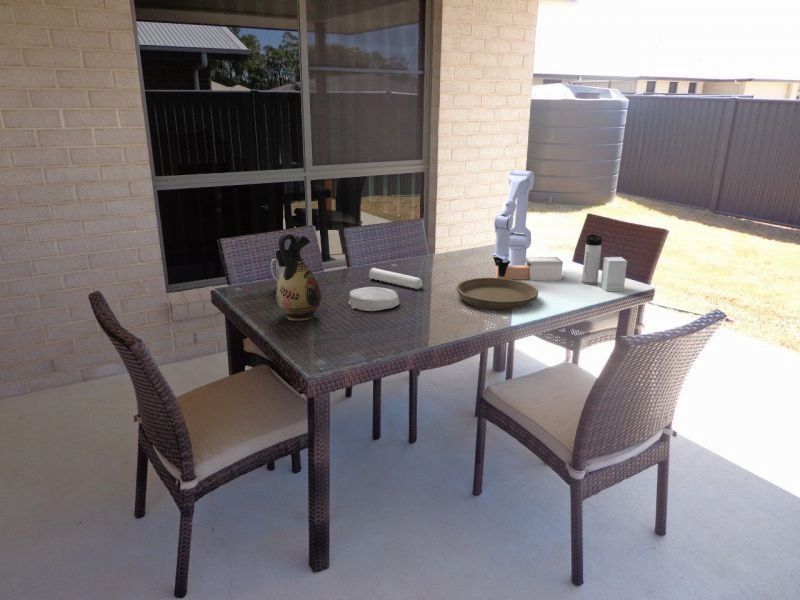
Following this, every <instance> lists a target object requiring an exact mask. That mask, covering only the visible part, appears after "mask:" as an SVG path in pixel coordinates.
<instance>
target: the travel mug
mask: <svg viewBox="0 0 800 600" xmlns="http://www.w3.org/2000/svg"><path fill="white" fill-rule="evenodd" d="M585 239H586V240H585V241H586V242H585V246H584V247H585V248H584V258H583V269H582V277H581V283H582V284H584V285H587V284H588V286H594V285H598V281H599V270H600V263H601V252H602V243H603V237H601V236H600V235H596V234H590V235H586V237H585Z"/></svg>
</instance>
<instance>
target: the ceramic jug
mask: <svg viewBox="0 0 800 600" xmlns="http://www.w3.org/2000/svg"><path fill="white" fill-rule="evenodd" d="M288 240H290V243H289V246H288V247H287V248H286V247H285V245H286V244H285V243H286V241H288ZM309 244H311V241H310V239H309V238H308V237H307V236H305V235H301V236H299V235H296V236H295V235H294V234H293V233H288V232H286V233H283V234H281V235H280V237H279V239H278V249H279V250H280V252H281V255H282V257H283V261H284V262H285V269H284V271H283V273H282V274H281V276H280V279H279V281H278V284H277V285H276V288H277V289H276V290H275V292H276V293H275V298H276V303H277V306H278V308H279V309H280V310H281V311H282V312H283V313H284V314H285V315H286V317H287V319H288V321H303V322H304V321H309V320H312V319H314V318H315V313H316V312H317V310H318V308H319V306H320V305H321V301H322V290H321V287H320V283H319V281H318V279H317V277H316V276H315V274H314V273H313V271H312V270H311V268H310V267H309V265H308V264H306V262H305V261H304V259H303V258H302V255H301V251H302V249H303V248H305V247H306V246H308V245H309ZM279 250H278V251H279ZM286 250H287V251H286ZM287 252H289V253H291V256H290V259H289V257H288V254H287Z"/></svg>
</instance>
